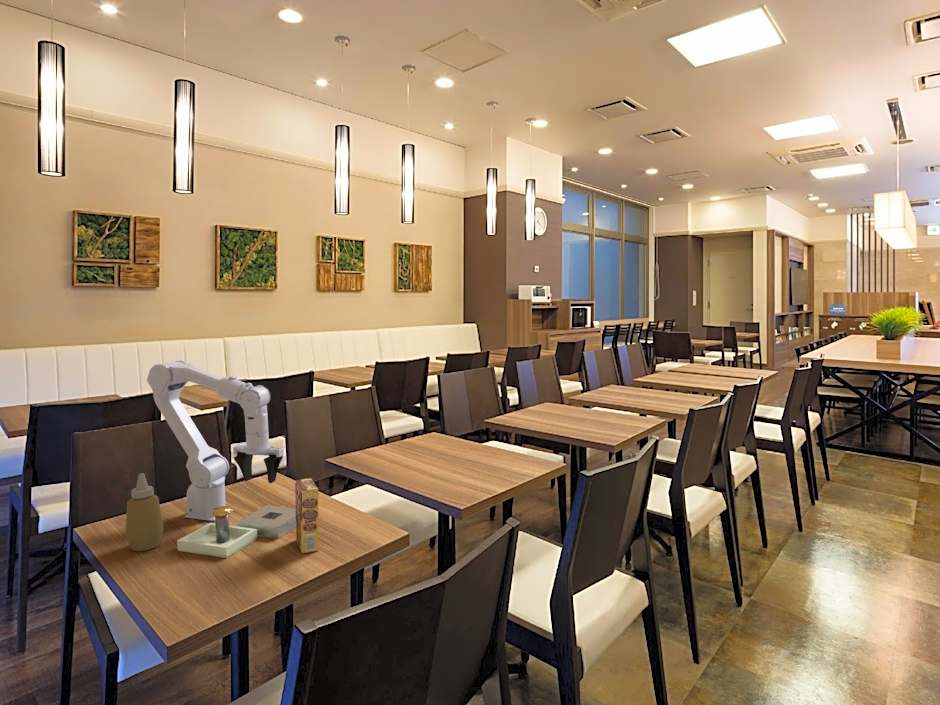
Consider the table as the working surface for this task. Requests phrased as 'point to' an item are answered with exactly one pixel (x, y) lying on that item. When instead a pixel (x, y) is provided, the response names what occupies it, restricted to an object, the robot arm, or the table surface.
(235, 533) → the tray
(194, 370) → the robot arm
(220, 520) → the copper-topped gray cylinder
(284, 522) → the block
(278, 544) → the table surface
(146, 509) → the squeeze bottle
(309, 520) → the candy box
